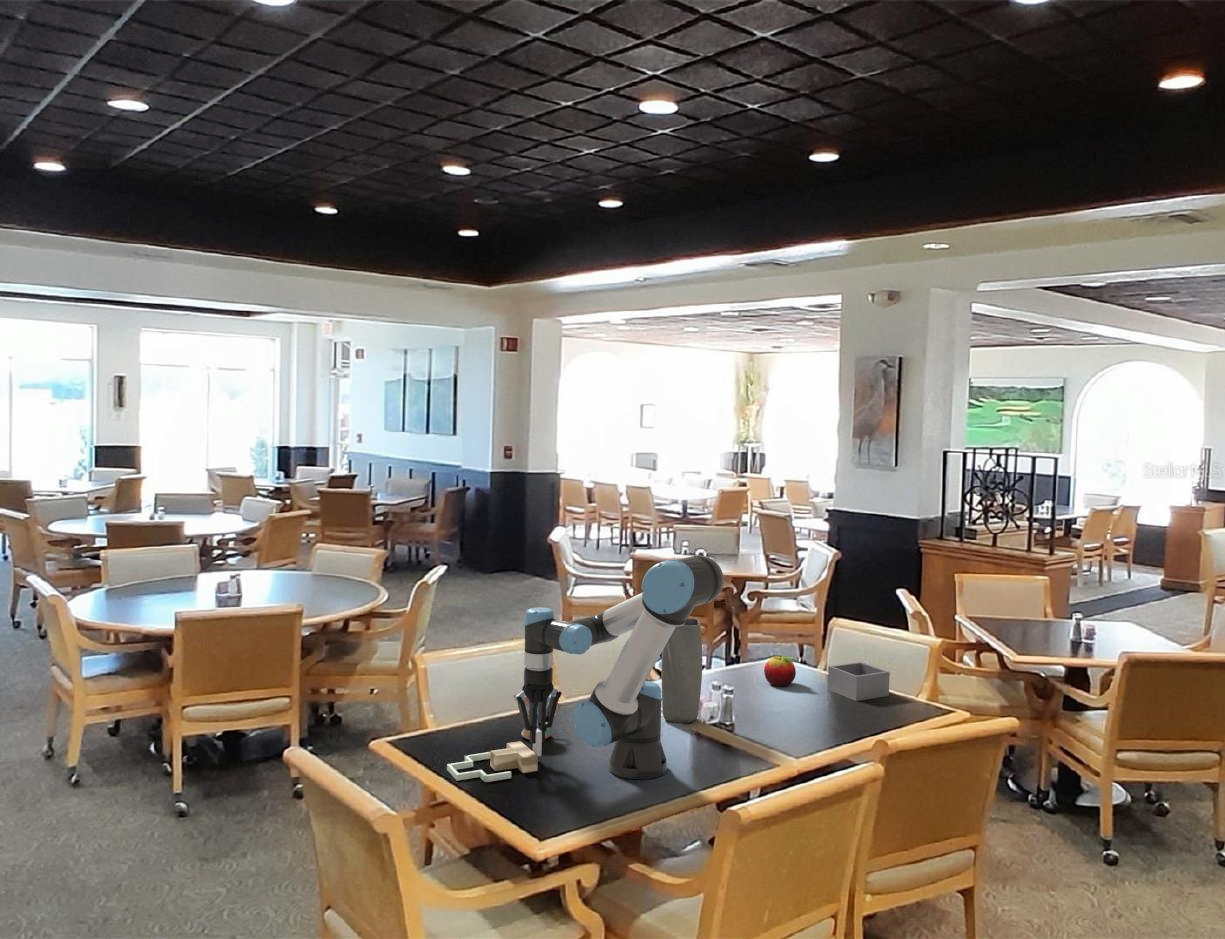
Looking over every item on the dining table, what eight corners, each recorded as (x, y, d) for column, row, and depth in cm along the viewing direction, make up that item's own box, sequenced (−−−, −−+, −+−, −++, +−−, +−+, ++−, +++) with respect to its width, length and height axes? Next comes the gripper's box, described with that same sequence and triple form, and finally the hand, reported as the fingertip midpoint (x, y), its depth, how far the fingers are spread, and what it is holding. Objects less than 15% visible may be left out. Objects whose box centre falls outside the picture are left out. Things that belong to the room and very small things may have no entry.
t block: (537, 770, 254) (537, 755, 254) (501, 776, 249) (501, 761, 249) (520, 755, 265) (520, 741, 264) (484, 760, 260) (485, 746, 260)
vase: (656, 724, 292) (658, 624, 290) (664, 712, 304) (666, 616, 302) (697, 728, 289) (699, 627, 287) (703, 715, 301) (705, 618, 299)
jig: (511, 778, 249) (511, 772, 248) (461, 786, 243) (461, 780, 242) (489, 757, 263) (489, 752, 263) (442, 764, 257) (442, 759, 257)
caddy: (888, 695, 325) (889, 672, 325) (855, 701, 319) (856, 676, 318) (860, 685, 338) (860, 662, 337) (827, 689, 331) (828, 666, 331)
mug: (528, 744, 273) (529, 707, 272) (514, 735, 281) (514, 698, 280) (566, 737, 279) (567, 701, 279) (551, 728, 287) (552, 692, 287)
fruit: (777, 678, 344) (778, 650, 344) (802, 685, 336) (803, 656, 335) (757, 683, 338) (757, 654, 337) (781, 690, 329) (782, 661, 329)
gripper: (555, 661, 265) (554, 746, 267) (510, 665, 259) (508, 753, 261) (566, 668, 258) (565, 755, 260) (520, 673, 253) (518, 762, 254)
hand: (536, 754), depth 261 cm, fingers closed
